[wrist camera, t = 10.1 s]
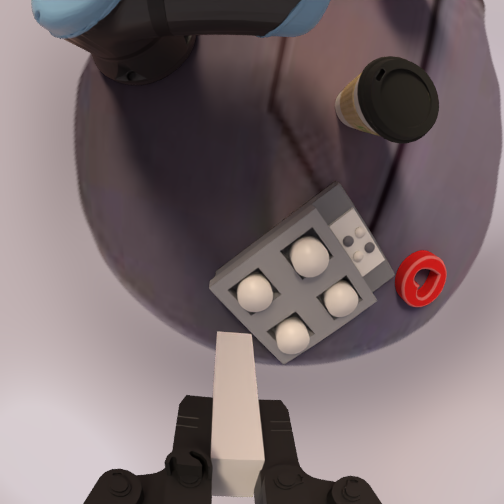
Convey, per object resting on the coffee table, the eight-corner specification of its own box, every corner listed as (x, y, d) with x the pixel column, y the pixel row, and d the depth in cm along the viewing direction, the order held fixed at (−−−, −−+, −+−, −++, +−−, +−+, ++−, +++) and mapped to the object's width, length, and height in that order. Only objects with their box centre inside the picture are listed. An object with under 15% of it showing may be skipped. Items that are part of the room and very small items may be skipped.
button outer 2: (316, 292, 46) (321, 301, 44) (342, 273, 46) (348, 281, 43) (331, 312, 48) (337, 322, 45) (356, 294, 47) (363, 303, 44)
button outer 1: (268, 329, 47) (270, 340, 44) (294, 311, 46) (298, 322, 43) (286, 347, 48) (289, 359, 46) (311, 331, 48) (315, 342, 45)
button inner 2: (282, 249, 43) (285, 257, 40) (310, 228, 42) (316, 235, 39) (301, 275, 44) (306, 284, 41) (329, 254, 43) (335, 262, 41)
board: (210, 275, 48) (208, 288, 43) (335, 181, 44) (345, 185, 39) (280, 348, 53) (283, 364, 49) (390, 270, 49) (402, 281, 45)
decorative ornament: (445, 272, 51) (454, 279, 48) (410, 309, 53) (418, 317, 50) (422, 238, 48) (432, 244, 45) (384, 279, 50) (392, 287, 47)
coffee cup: (364, 153, 42) (418, 163, 28) (309, 114, 40) (346, 103, 26) (395, 103, 40) (455, 95, 26) (343, 63, 38) (390, 35, 24)
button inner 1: (230, 285, 45) (230, 294, 42) (257, 265, 44) (258, 274, 42) (251, 307, 47) (252, 318, 44) (277, 289, 46) (279, 298, 43)
